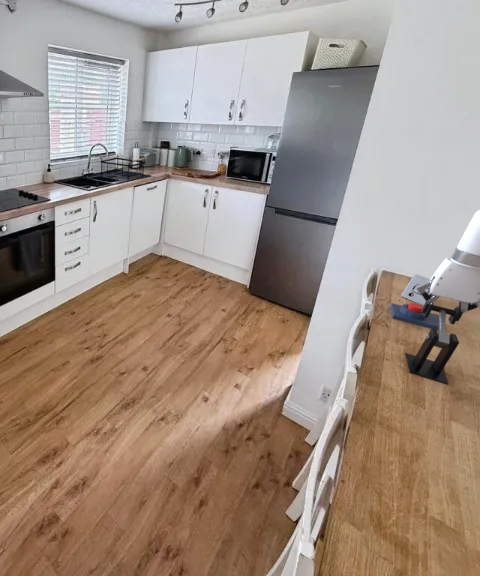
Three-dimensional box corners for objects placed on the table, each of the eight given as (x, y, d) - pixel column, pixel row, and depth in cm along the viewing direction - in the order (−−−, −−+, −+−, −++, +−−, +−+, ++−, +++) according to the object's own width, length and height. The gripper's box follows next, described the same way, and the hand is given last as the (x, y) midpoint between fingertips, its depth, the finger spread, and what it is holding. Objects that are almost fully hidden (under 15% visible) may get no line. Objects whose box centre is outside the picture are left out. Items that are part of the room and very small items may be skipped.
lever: (429, 308, 103) (433, 302, 101) (451, 313, 101) (456, 308, 99) (427, 344, 96) (431, 338, 94) (451, 351, 94) (456, 345, 92)
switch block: (435, 320, 124) (441, 310, 122) (440, 333, 117) (446, 323, 115) (388, 308, 130) (393, 298, 128) (391, 320, 123) (396, 310, 121)
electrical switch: (399, 296, 139) (412, 274, 135) (406, 295, 141) (418, 273, 137) (428, 308, 132) (442, 285, 128) (434, 306, 134) (448, 283, 130)
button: (421, 309, 123) (423, 305, 122) (422, 314, 120) (425, 310, 119) (406, 306, 125) (408, 301, 124) (407, 311, 122) (410, 306, 121)
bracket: (403, 356, 105) (422, 321, 100) (439, 366, 101) (460, 331, 96) (407, 375, 97) (428, 338, 92) (446, 387, 94) (470, 350, 88)
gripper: (512, 262, 92) (474, 322, 101) (427, 246, 100) (398, 303, 109) (523, 272, 87) (481, 335, 95) (432, 254, 94) (401, 314, 103)
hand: (437, 318), depth 102 cm, fingers closed on lever, 5 cm apart
